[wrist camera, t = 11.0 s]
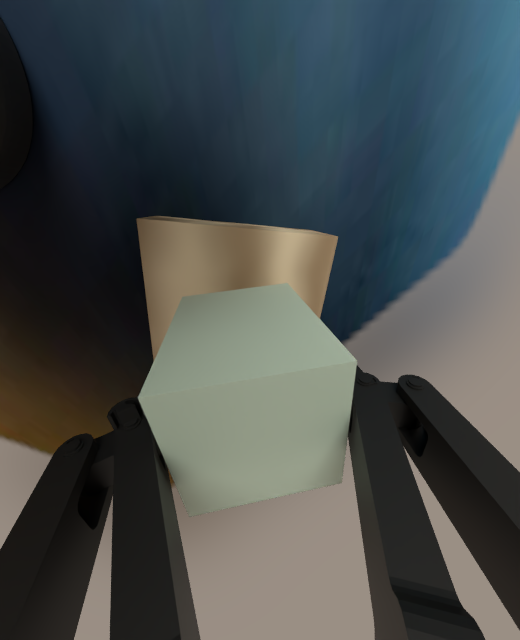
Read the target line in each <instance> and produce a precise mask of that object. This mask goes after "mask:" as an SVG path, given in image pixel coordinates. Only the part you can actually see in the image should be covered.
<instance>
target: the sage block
mask: <svg viewBox="0 0 520 640" xmlns="http://www.w3.org/2000/svg"><path fill="white" fill-rule="evenodd" d="M356 366H357V360H356V359H355V358H354V357H353V356H352V355H351V354H350V352H348V350H347V349H346V348H345V347H344V346H343V345H342V343H341V342H340V341H339V340H338V339H337V338H336V337H335V336H334V334H333V333H332V332H331V331H330V330H329V329H328V328H327V327H326V326H325V324H324V323H323V322H322V321H321V320H320V319H319V318H318V317H317V315H316V314H315V313H314V312H313V311H312V310H311V309H310V308H309V307H308V305H307V304H306V303H305V302H304V301H303V300H302V299H301V298H300V297H299V295H298V294H297V293H296V292H295V291H294V290H293V289H292V288H291V286H290V285H289V284H288V283H284V284H276V285H268V286H261V287H253V288H245V289H238V290H230V291H222V292H215V293H207V294H199V295H192V296H184V297H182V299H181V301H180V303H179V306H178V308H177V310H176V312H175V315H174V317H173V319H172V322H171V324H170V326H169V328H168V331H167V333H166V335H165V338H164V340H163V342H162V344H161V347H160V349H159V351H158V353H157V356H156V358H155V360H154V363H153V365H152V367H151V369H150V372H149V374H148V376H147V378H146V381H145V383H144V385H143V388H142V390H141V392H140V394H139V397H138V400H139V402H140V404H141V407H142V409H143V411H144V413H145V416H146V418H147V420H148V423H149V425H150V427H151V430H152V432H153V434H154V437H155V439H156V441H157V443H158V446H159V448H160V450H161V453H162V455H163V457H164V460H165V462H166V464H167V467H168V469H169V471H170V474H171V476H172V478H173V480H174V483H175V485H176V487H177V490H178V492H179V494H180V496H181V499H182V501H183V504H184V506H185V508H186V510H187V512H188V515H189V517H192V516H196V515H200V514H205V513H210V512H214V511H218V510H222V509H227V508H232V507H236V506H241V505H245V504H250V503H254V502H259V501H263V500H267V499H272V498H277V497H281V496H286V495H290V494H295V493H299V492H303V491H308V490H312V489H317V488H321V487H326V486H331V485H335V484H340V483H342V477H343V469H344V461H345V454H346V446H347V438H348V430H349V422H350V414H351V406H352V398H353V390H354V382H355V374H356Z"/></svg>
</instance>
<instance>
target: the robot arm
mask: <svg viewBox="0 0 520 640" xmlns="http://www.w3.org/2000/svg"><path fill="white" fill-rule="evenodd" d="M32 131H33V114H32V104H31V97H30V92H29V88H28V83H27V79H26V76H25V73H24V70H23V66H22V64H21V61H20V58H19V56H18V53H17V51H16V48H15V46H14V44H13V42H12V39H11V37H10V35H9V33H8V31H7V29H6V27H5V25H4V24H3V22H2V20H1V18H0V189H1V188H3V187H4V186H6V185H7V184H8V183H9V182H10V181H11V180H12V179H13V178H14V177H15V176H16V175H17V174H18V172H19V171H20V169H21V168H22V166H23V164H24V162H25V160H26V158H27V155H28V152H29V149H30V145H31V140H32ZM145 381H146V380H145ZM145 381H144V383H145ZM143 385H144V384H143ZM142 388H143V386H142ZM142 388H141V390H142ZM141 390H140V392H141ZM138 397H139V395H138ZM138 397H137V398H128V399H125V400H123V401H121V402H119V403H117V404H116V405H115V406H114V407H112V409H111V410H110V411H109V413H108V416H107V418H108V420H109V421H110V423H111V425H112V427H113V429H114V431H112V432H110V433H108V434H105V435H103V436H100V437H98V438H96V439H93V437H92V435H90V434H87V433H86V434H80V435H77V436H74V437H72V438H71V439H69V440H67V441H66V442H64V443H63V444H62V445H61V446H60V447H59V448H58V449H57V450H56V452H55V453H54V455H53V457H52V458H51V460H50V462H49V464H48V465H47V467H46V469H45V471H44V473H43V475H42V476H41V478H40V480H39V482H38V483H37V485H36V487H35V489H34V490H33V493H32V494H31V496H30V498H29V500H28V501H27V503H26V505H25V506H24V508H23V510H22V512H21V514H20V515H19V517H18V519H17V521H16V523H15V524H14V526H13V528H12V530H11V531H10V533H9V535H8V537H7V539H6V541H5V542H4V544H3V546H2V548H1V549H0V640H74V637H75V633H76V629H77V625H78V622H79V618H80V614H81V611H82V607H83V603H84V599H85V596H86V592H87V589H88V585H89V581H90V577H91V574H92V570H93V566H94V562H95V559H96V555H97V552H98V548H99V544H100V540H101V537H102V533H103V529H104V526H105V522H106V518H107V515H108V511H109V507H110V503H111V500H112V496H113V525H112V569H111V611H110V640H200V635H199V631H198V625H197V619H196V614H195V609H194V604H193V599H192V593H191V588H190V583H189V578H188V572H187V568H186V562H185V557H184V552H183V546H182V542H181V536H180V531H179V526H178V521H177V515H176V510H175V505H174V500H173V494H172V489H171V484H170V479H169V474H168V468H167V464H166V462H165V460H164V457H163V455H162V453H161V450H160V448H159V446H158V443H157V441H156V439H155V437H154V434H153V432H152V430H151V427H150V425H149V423H148V420H147V418H146V416H145V413H144V411H143V409H142V407H141V404H140V402H139V400H138ZM348 439H349V446H350V453H351V460H352V467H353V475H354V482H355V489H356V496H357V503H358V510H359V517H360V524H361V531H362V538H363V545H364V552H365V559H366V566H367V574H368V581H369V587H370V594H371V602H372V608H373V616H374V626H375V640H485V638H484V636H483V633H482V632H481V630H480V628H479V627H478V625H477V623H476V621H475V620H474V618H473V617H472V616H471V615H470V614H469V613H468V612H466V610H465V609H464V608H463V606H462V605H461V603H460V601H459V599H458V596H457V594H456V592H455V589H454V586H453V583H452V580H451V578H450V575H449V572H448V569H447V566H446V564H445V561H444V558H443V555H442V553H441V550H440V547H439V544H438V542H437V539H436V536H435V533H434V530H433V528H432V525H431V522H430V519H429V516H428V514H427V511H426V508H425V506H424V503H423V500H422V497H421V494H420V491H419V489H418V486H417V483H416V480H415V478H414V475H413V472H412V469H411V467H410V464H409V461H408V458H407V455H406V453H405V450H404V448H405V449H406V451H407V453H408V454H409V456H410V457H411V459H412V460H413V462H414V464H415V465H416V467H417V468H418V470H419V472H420V473H421V475H422V476H423V478H424V479H425V481H426V483H427V484H428V486H429V487H430V489H431V491H432V492H433V493H434V495H435V497H436V498H437V500H438V501H439V503H440V504H441V506H442V508H443V510H444V511H445V513H446V514H447V516H448V518H449V519H450V521H451V522H452V524H453V525H454V527H455V528H456V530H457V532H458V533H459V535H460V536H461V538H462V539H463V541H464V543H465V544H466V546H467V548H468V549H469V551H470V552H471V554H472V555H473V557H474V559H475V560H476V562H477V563H478V565H479V567H480V568H481V570H482V571H483V573H484V574H485V576H486V578H487V579H488V581H489V582H490V584H491V586H492V587H493V589H494V590H495V592H496V594H497V595H498V597H499V598H500V600H501V602H502V603H503V605H504V606H505V608H506V609H507V611H508V613H509V614H510V616H511V617H512V619H513V620H514V622H515V624H516V625H517V627H518V628H519V630H520V472H519V471H518V470H517V469H516V468H515V467H514V466H513V465H512V464H511V463H510V462H509V461H508V460H507V459H506V458H505V457H504V456H503V455H502V454H501V453H500V452H499V451H498V450H497V449H496V448H495V447H494V446H493V445H492V444H491V443H490V442H488V440H487V439H486V438H485V437H484V436H483V435H481V433H480V432H478V430H477V429H476V428H475V427H473V426H472V425H471V424H470V422H469V421H468V420H467V419H466V418H465V417H463V416H462V415H461V414H460V413H459V412H458V411H457V410H456V409H455V408H454V407H453V406H452V405H451V404H450V403H449V402H448V401H447V400H446V399H445V398H444V397H443V396H442V395H441V394H440V393H439V392H438V391H437V390H436V389H435V388H434V387H433V386H432V385H431V384H430V383H429V382H428V381H427V380H425V379H423V378H421V377H419V376H415V375H403V376H401V377H400V378H399V380H398V383H390V382H380V381H379V380H378V379H377V378H376V377H375V376H373V375H371V374H369V373H364V372H363V371H362V370H361V369H360V368H359V367H358V366H356V374H355V382H354V390H353V398H352V406H351V414H350V422H349V430H348ZM403 446H404V447H403Z"/></svg>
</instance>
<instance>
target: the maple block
mask: <svg viewBox="0 0 520 640" xmlns="http://www.w3.org/2000/svg"><path fill="white" fill-rule="evenodd" d="M137 227H138V235H139V243H140V251H141V259H142V268H143V276H144V284H145V292H146V301H147V309H148V317H149V325H150V334H151V342H152V350H153V358H154V360H155V358H156V356H157V353H158V351H159V349H160V347H161V344H162V342H163V340H164V338H165V335H166V333H167V331H168V328H169V326H170V324H171V322H172V319H173V317H174V315H175V312H176V310H177V308H178V306H179V303H180V301H181V299H182V297H184V296H192V295H199V294H207V293H215V292H222V291H230V290H238V289H245V288H253V287H261V286H268V285H276V284H284V283H288V284H289V285H290V286H291V288H292V289H293V290H294V291H295V292H296V293H297V294H298V295H299V297H300V298H301V299H302V300H303V301H304V302H305V303H306V304H307V305H308V307H309V308H310V309H311V310H312V311H313V312H314V313H315V314H316V315H317V317H318V318H319V319H320V315H321V311H322V306H323V302H324V298H325V293H326V289H327V284H328V280H329V275H330V271H331V266H332V262H333V258H334V253H335V249H336V244H337V240H338V237H337V236H333V235H329V234H325V233H321V232H317V231H313V230H304V229H293V228H282V227H272V226H261V225H250V224H240V223H229V222H218V221H208V220H197V219H186V218H176V217H165V216H152V217H144V218H137Z"/></svg>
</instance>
